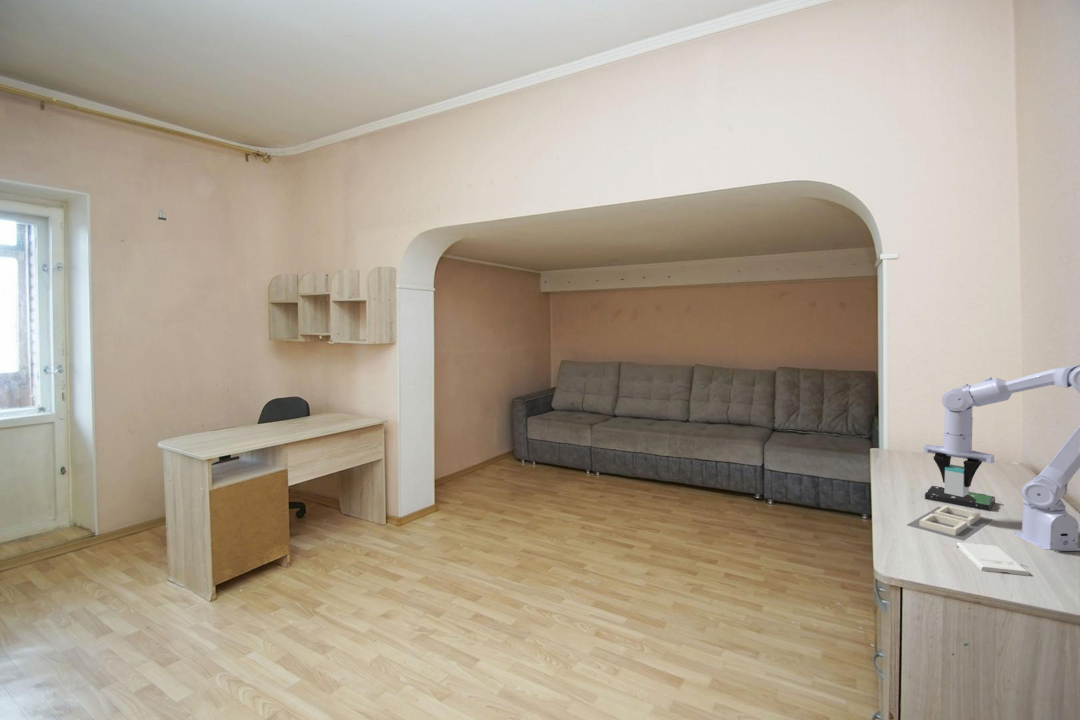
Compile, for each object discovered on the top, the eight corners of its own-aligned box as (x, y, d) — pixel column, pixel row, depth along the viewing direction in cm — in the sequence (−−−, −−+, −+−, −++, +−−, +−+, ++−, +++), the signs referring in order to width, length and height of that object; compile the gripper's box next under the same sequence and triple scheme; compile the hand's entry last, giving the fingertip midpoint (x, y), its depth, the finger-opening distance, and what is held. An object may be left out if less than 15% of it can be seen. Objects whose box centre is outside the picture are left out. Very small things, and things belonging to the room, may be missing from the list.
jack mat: (963, 542, 123) (963, 540, 123) (906, 526, 133) (906, 525, 133) (993, 521, 135) (993, 519, 135) (938, 508, 145) (938, 506, 145)
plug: (962, 496, 133) (963, 470, 133) (944, 492, 136) (944, 467, 136) (968, 493, 135) (969, 467, 135) (950, 489, 139) (951, 464, 138)
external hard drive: (999, 552, 119) (1029, 578, 107) (956, 548, 122) (981, 573, 110) (999, 546, 119) (1029, 571, 107) (956, 541, 122) (981, 565, 110)
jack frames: (955, 535, 126) (955, 529, 126) (919, 525, 133) (919, 520, 132) (980, 518, 136) (980, 513, 136) (945, 510, 142) (945, 505, 142)
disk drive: (924, 503, 151) (990, 514, 141) (924, 493, 151) (991, 504, 140) (931, 494, 158) (995, 504, 148) (931, 485, 158) (995, 495, 147)
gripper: (999, 435, 131) (997, 487, 132) (931, 427, 143) (930, 474, 144) (989, 440, 127) (987, 493, 128) (920, 430, 139) (919, 479, 140)
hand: (956, 484), depth 136 cm, fingers closed on plug, 4 cm apart
